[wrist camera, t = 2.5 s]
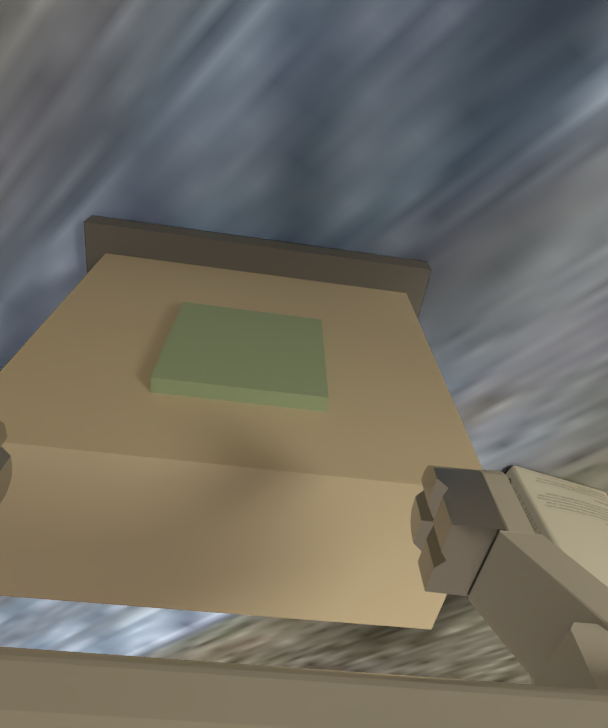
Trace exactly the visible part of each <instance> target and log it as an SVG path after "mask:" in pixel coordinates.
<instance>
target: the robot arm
mask: <svg viewBox="0 0 608 728" xmlns="http://www.w3.org/2000/svg"><path fill="white" fill-rule="evenodd" d="M6 439H7V433H6V428H5V424H4V423H3V422H1V421H0V503H1V502H2V500H3V498H4V497H5V495H6V494H7V491H8V488H9V485H10V482H11V478H12V460H11V455H10V454H9V453H8V452H7V451H6V450H5V449H4V448H3V447H2V444H3V443H4V442H5V440H6ZM421 482H422V485H423V489H424V490H423V491H422V492H420V493H419V494H418V495H416V496H415V499H414V502H413V506H412V510H411V520H410V524H411V534H412V539H413V543H414V544H415V545H416V546H417V547H418V548H419V549H420V550H421V551H422V552H421V554H420V557H419V560H418V565H419V569H420V573H421V578H422V582H423V586H424V590H425V591H426V592H434V593H443V594H452V595H461V596H468V600H469V601H470V602H471V603H472V605H473V606H474V607H475V608H476V610H477V611H478V612H479V613H480V614H481V616H482V617H483V618H484V619H485V621H486V622H487V623H488V624H489V626H490V627H491V628H492V629H493V630H494V632H495V633H496V634H497V635H498V637H499V638H500V639H501V640H502V642H503V643H504V644H505V645H506V646H507V648H508V649H509V650H510V651H511V653H512V654H513V655H514V656H515V658H516V659H517V660H518V661H519V662H520V664H521V665H522V666H523V667H524V669H525V670H526V671H527V672H528V674H529V675H530V676H531V677H532V678H533V680H534V681H535V682H534V684H533V685H531V684H517V683H503V682H489V681H476V680H462V679H448V678H434V677H420V676H406V675H391V674H377V673H363V672H349V671H334V670H320V669H306V668H292V667H277V666H263V665H249V664H235V663H221V662H207V661H193V660H179V659H165V658H151V657H137V656H123V655H109V654H95V653H82V652H68V651H54V650H40V649H26V648H12V647H0V728H608V587H607V586H606V585H605V584H603V583H602V582H601V581H600V580H598V579H597V578H596V577H595V576H593V575H592V574H591V573H590V572H588V571H587V570H586V569H585V568H583V567H582V566H581V565H580V564H578V563H577V562H576V561H575V560H573V559H572V558H571V557H570V556H568V555H567V554H566V553H565V552H563V551H562V550H561V549H560V548H559V547H557V546H556V545H555V544H554V543H552V542H551V541H550V540H549V539H547V538H546V537H545V536H544V535H541V534H535V533H534V531H533V529H532V526H531V524H530V522H529V520H528V518H527V516H526V514H525V512H524V510H523V508H522V506H521V504H520V502H519V500H518V498H517V496H516V494H515V492H514V490H513V488H512V486H511V484H510V482H509V480H508V478H507V476H506V475H505V474H504V473H503V472H502V471H491V470H479V469H477V470H473V469H463V468H453V467H443V466H433V465H428V466H427V468H426V469H425V470H424V473H423V476H422V478H421Z"/></svg>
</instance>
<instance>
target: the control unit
mask: <svg viewBox="0 0 608 728" xmlns="http://www.w3.org/2000/svg"><path fill="white" fill-rule="evenodd" d="M84 230H85V245H86V261H87V275H86V276H85V277H84V278H83V279H82V280H81V281H80V282H79V284H78V285H77V286H76V287H75V288H74V289H73V290H72V291H71V293H70V294H69V295H68V296H67V297H66V298H65V299H64V300H63V302H62V303H61V304H60V305H59V306H58V307H57V308H56V309H55V311H54V312H53V313H52V314H51V315H50V316H49V317H48V318H47V319H46V321H45V322H44V323H43V324H42V325H41V326H40V327H39V328H38V330H37V331H36V332H35V333H34V334H33V335H32V336H31V337H30V339H29V340H28V341H27V342H26V343H25V344H24V345H23V346H22V348H21V349H20V350H19V351H18V352H17V353H16V354H15V355H14V357H13V358H12V359H11V360H10V361H9V362H8V363H7V364H6V365H5V367H4V368H3V369H2V370H1V371H0V421H1V422H3V423H4V424H5V428H6V433H7V439H6V440H5V442H4V443H3V444H2V447H3V448H4V449H5V450H6V451H7V452H8V453H9V454H10V455H11V460H12V478H11V482H10V485H9V488H8V491H7V494H6V495H5V497H4V498H3V500H2V502H1V503H0V596H12V597H25V598H38V599H50V600H63V601H76V602H88V603H101V604H114V605H127V606H139V607H152V608H165V609H178V610H190V611H203V612H216V613H229V614H241V615H254V616H267V617H280V618H292V619H305V620H318V621H331V622H343V623H356V624H369V625H382V626H394V627H407V628H420V629H432V627H433V625H434V622H435V620H436V618H437V616H438V613H439V611H440V609H441V607H442V605H443V602H444V600H445V598H446V596H447V594H443V593H434V592H426V591H425V590H424V586H423V582H422V578H421V573H420V569H419V565H418V560H419V557H420V554H421V552H422V551H421V550H420V549H419V548H418V547H417V546H416V545H415V544H414V543H413V539H412V534H411V524H410V520H411V510H412V506H413V502H414V499H415V496H416V495H418V494H419V493H420V492H422V491H423V490H424V489H423V485H422V482H421V478H422V476H423V473H424V470H425V469H426V468H427V466H428V465H433V466H443V467H453V468H463V469H473V470H477V469H479V470H483V469H482V467H481V464H480V462H479V460H478V458H477V455H476V453H475V451H474V448H473V446H472V444H471V441H470V439H469V437H468V434H467V432H466V430H465V427H464V425H463V423H462V421H461V418H460V416H459V414H458V411H457V409H456V407H455V404H454V402H453V400H452V397H451V395H450V393H449V391H448V388H447V386H446V384H445V381H444V379H443V377H442V374H441V372H440V370H439V367H438V365H437V363H436V360H435V358H434V356H433V354H432V351H431V349H430V347H429V344H428V342H427V340H426V337H425V335H424V333H423V330H422V328H421V326H420V324H419V321H418V316H419V312H420V309H421V305H422V302H423V298H424V295H425V291H426V288H427V284H428V280H429V277H430V273H431V268H430V266H429V265H428V263H427V262H425V261H418V260H411V259H404V258H396V257H389V256H382V255H375V254H368V253H360V252H353V251H346V250H339V249H332V248H324V247H317V246H310V245H303V244H295V243H288V242H281V241H274V240H267V239H259V238H252V237H245V236H238V235H230V234H223V233H216V232H209V231H202V230H194V229H187V228H180V227H173V226H165V225H158V224H151V223H144V222H137V221H129V220H122V219H115V218H108V217H100V216H93V215H92V216H90V217H89V218H88V219H87V220H86V221H85V222H84Z"/></svg>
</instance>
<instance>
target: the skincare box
mask: <svg viewBox="0 0 608 728" xmlns="http://www.w3.org/2000/svg"><path fill="white" fill-rule="evenodd" d="M505 475H506V476H507V478H508V480H509V482H510V484H511V486H512V488H513V490H514V492H515V494H516V496H517V498H518V500H519V502H520V504H521V506H522V508H523V510H524V512H525V514H526V516H527V518H528V520H529V522H530V524H531V526H532V529H533V531H534V533H535V534H541V535H544V536H545V537H546V538H547V539H549V540H550V541H551V542H552V543H554V544H555V545H556V546H557V547H559V548H560V549H561V550H562V551H563V552H565V553H566V554H567V555H568V556H570V557H571V558H572V559H573V560H575V561H576V562H577V563H578V564H580V565H581V566H582V567H583V568H585V569H586V570H587V571H588V572H590V573H591V574H592V575H593V576H595V577H596V578H597V579H598V580H600V581H601V582H602V583H603V584H605V585H606V586H607V587H608V496H607V494H606V493H605V492H604V491H601V490H597V489H594V488H590V487H587V486H583V485H580V484H577V483H573V482H570V481H566V480H563V479H560V478H556V477H553V476H549V475H546V474H542V473H539V472H535V471H532V470H528V469H525V468H521V467H518V466H512V467H511V468H510V469H509V471H508V472H507V473H506V474H505ZM529 676H530V675H529ZM530 678H531V681H532V683H533V684H534V682H535V681H534V680H533V678H532V677H531V676H530Z"/></svg>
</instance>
